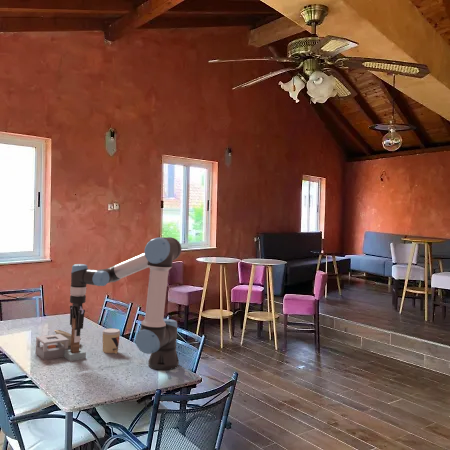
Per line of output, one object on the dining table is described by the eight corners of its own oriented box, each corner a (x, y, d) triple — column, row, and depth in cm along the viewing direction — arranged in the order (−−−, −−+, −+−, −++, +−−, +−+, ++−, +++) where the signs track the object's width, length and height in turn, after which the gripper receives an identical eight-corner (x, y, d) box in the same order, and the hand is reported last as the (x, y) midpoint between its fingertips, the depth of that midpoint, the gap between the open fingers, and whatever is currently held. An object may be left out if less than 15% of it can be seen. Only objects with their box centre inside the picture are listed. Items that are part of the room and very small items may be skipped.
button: (56, 355, 220) (56, 346, 220) (49, 356, 218) (49, 347, 218) (53, 353, 223) (54, 344, 223) (46, 355, 220) (47, 345, 220)
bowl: (85, 347, 238) (86, 329, 238) (61, 352, 228) (62, 333, 228) (72, 341, 249) (73, 324, 249) (48, 345, 238) (49, 327, 238)
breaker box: (67, 357, 220) (68, 339, 220) (43, 361, 212) (44, 342, 212) (58, 351, 229) (59, 333, 229) (35, 355, 221) (36, 336, 221)
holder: (85, 360, 218) (85, 352, 218) (69, 362, 212) (70, 354, 212) (79, 355, 224) (79, 348, 224) (63, 358, 218) (64, 350, 218)
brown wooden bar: (79, 354, 218) (81, 318, 218) (72, 355, 216) (74, 319, 216) (76, 352, 220) (78, 317, 220) (70, 353, 218) (72, 318, 218)
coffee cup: (114, 356, 226) (115, 333, 226) (98, 354, 228) (99, 331, 228) (122, 351, 236) (123, 329, 236) (106, 349, 237) (107, 327, 237)
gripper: (92, 297, 214) (89, 344, 214) (78, 291, 226) (76, 336, 226) (77, 298, 209) (74, 346, 209) (64, 292, 221) (61, 338, 222)
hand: (75, 341), depth 218 cm, fingers closed on brown wooden bar, 3 cm apart
